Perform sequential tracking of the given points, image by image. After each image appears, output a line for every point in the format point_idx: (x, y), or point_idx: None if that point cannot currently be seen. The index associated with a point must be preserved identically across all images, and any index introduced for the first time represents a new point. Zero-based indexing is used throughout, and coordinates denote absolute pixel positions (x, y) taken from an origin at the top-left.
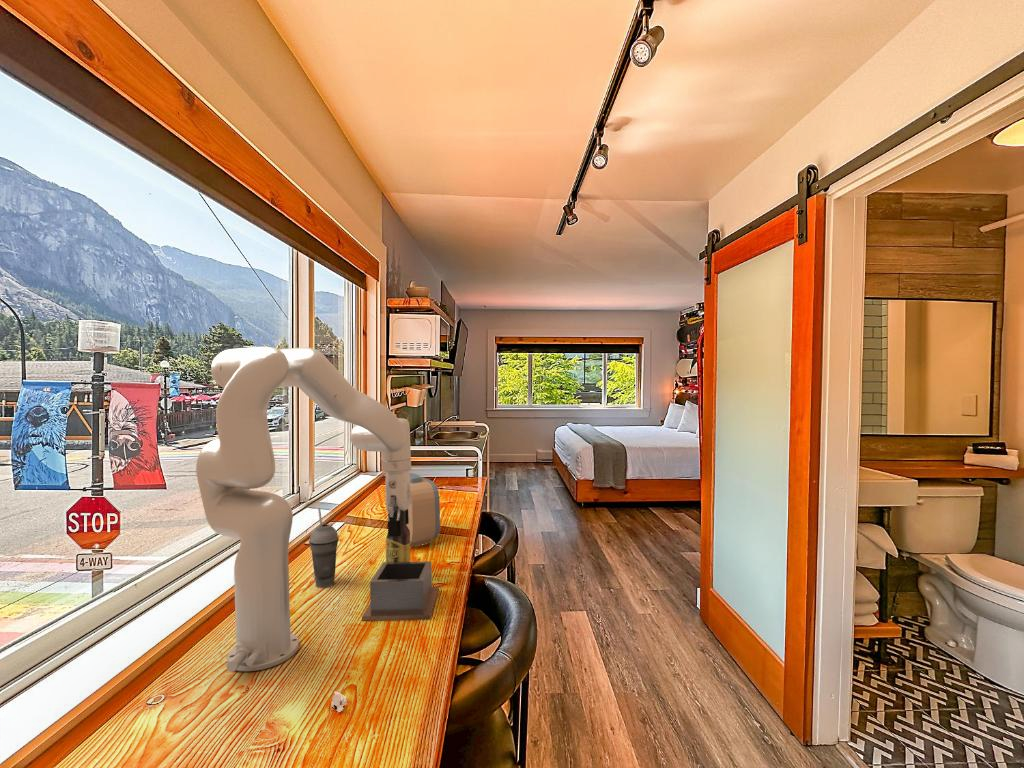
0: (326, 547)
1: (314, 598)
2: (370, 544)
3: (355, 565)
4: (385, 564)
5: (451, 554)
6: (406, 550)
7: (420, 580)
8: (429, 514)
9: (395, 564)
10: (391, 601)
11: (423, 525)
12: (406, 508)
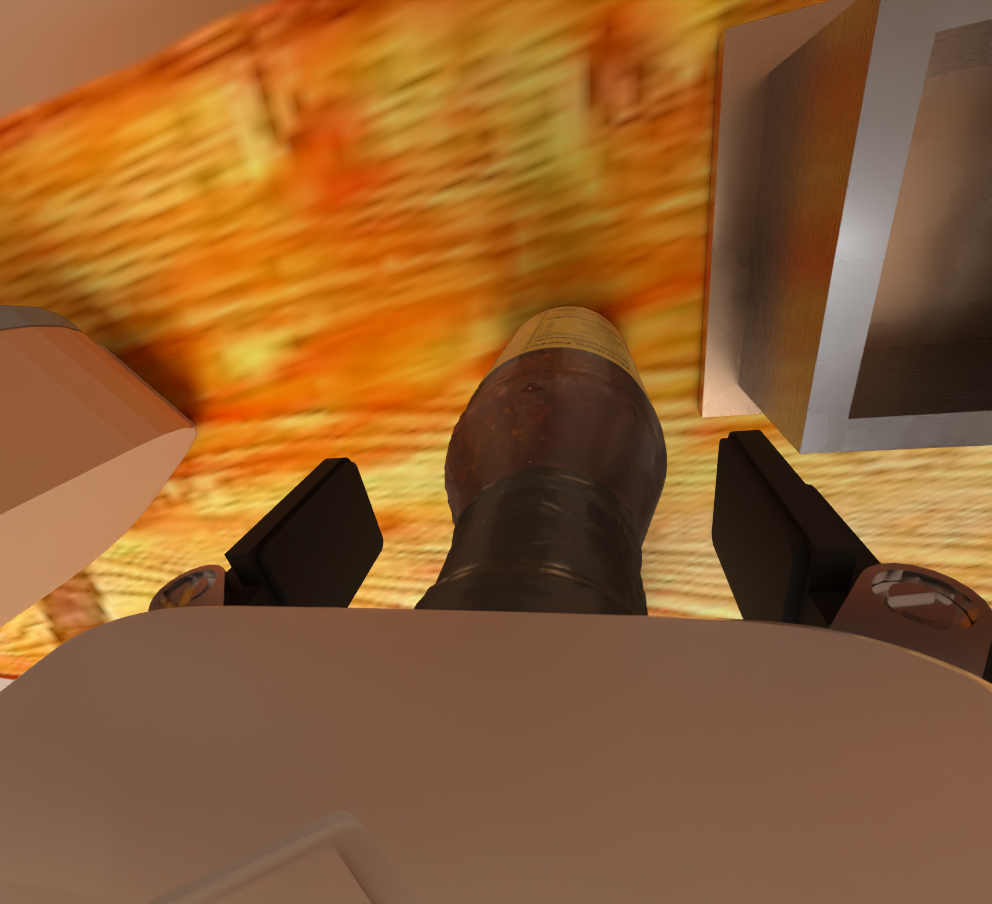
0: None
1: (732, 613)
2: None
3: (426, 568)
4: (853, 426)
5: (176, 176)
6: (606, 348)
7: None
8: None
9: (861, 353)
10: None
11: (62, 398)
12: (724, 636)
